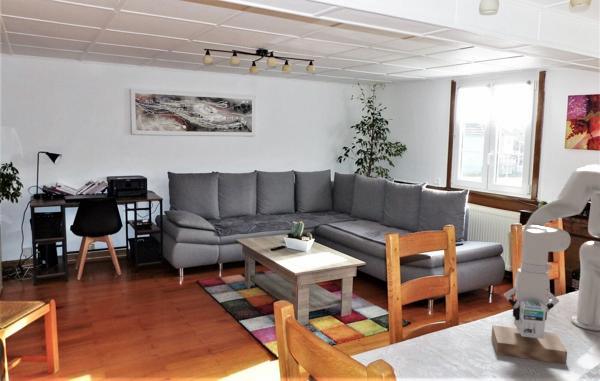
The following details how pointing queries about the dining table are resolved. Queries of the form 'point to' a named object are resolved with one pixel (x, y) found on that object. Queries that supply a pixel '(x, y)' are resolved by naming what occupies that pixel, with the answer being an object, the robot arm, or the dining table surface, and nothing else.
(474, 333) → the dining table surface
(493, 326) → the block
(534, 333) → the light bulb box
